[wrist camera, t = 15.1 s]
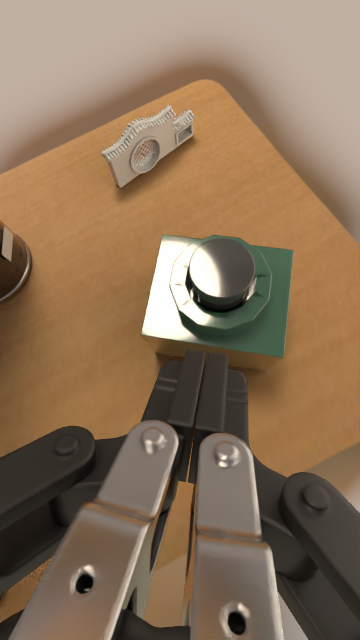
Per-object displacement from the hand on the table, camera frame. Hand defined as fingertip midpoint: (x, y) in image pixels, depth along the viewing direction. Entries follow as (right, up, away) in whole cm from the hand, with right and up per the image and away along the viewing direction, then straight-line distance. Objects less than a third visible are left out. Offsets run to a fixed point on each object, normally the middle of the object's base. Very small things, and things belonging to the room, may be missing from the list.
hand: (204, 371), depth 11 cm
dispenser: (+3, +2, +21) cm, 21 cm away
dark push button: (+2, +5, +12) cm, 13 cm away
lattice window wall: (-4, +21, +28) cm, 35 cm away
